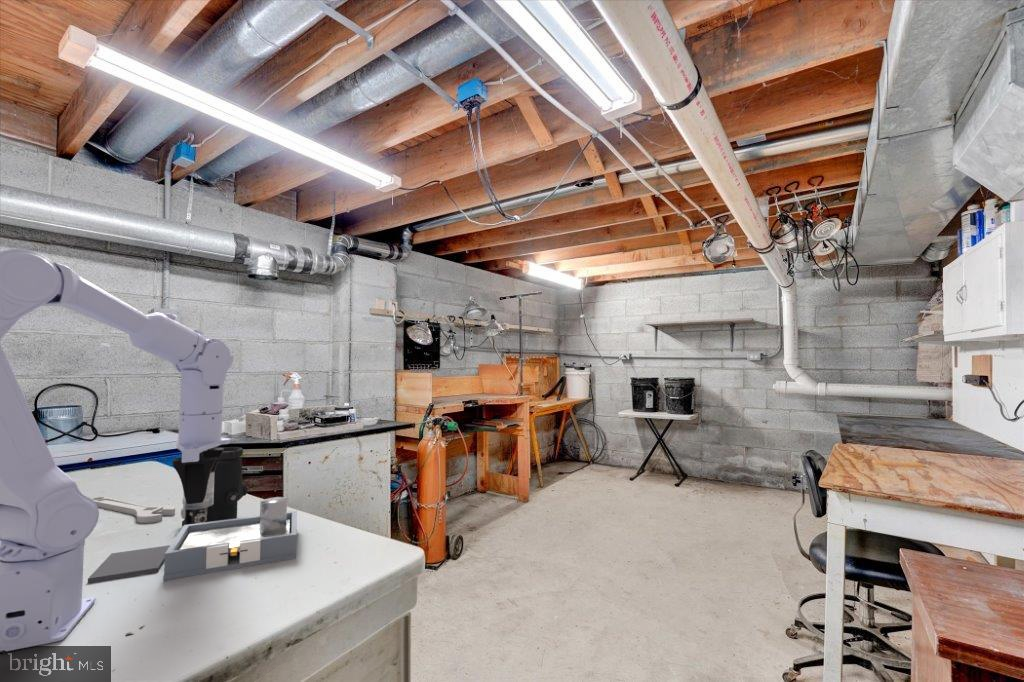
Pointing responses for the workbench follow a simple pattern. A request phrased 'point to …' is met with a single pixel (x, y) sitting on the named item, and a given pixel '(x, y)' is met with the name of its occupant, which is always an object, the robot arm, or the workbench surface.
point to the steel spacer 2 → (273, 515)
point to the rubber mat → (130, 563)
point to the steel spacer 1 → (207, 500)
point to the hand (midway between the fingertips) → (198, 498)
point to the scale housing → (227, 549)
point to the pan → (227, 536)
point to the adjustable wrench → (136, 509)
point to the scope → (222, 490)
